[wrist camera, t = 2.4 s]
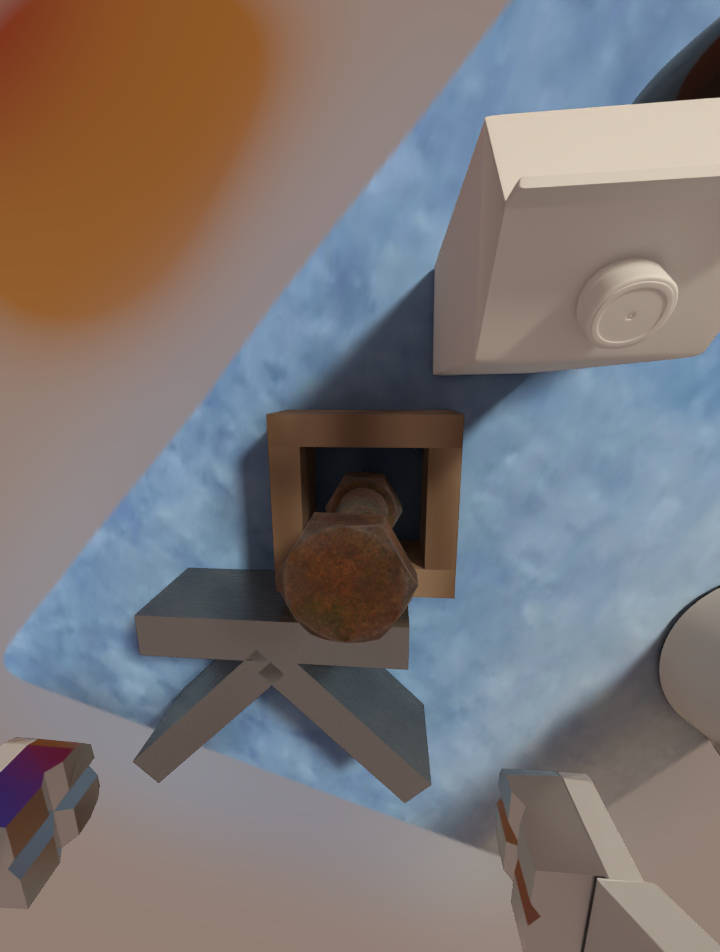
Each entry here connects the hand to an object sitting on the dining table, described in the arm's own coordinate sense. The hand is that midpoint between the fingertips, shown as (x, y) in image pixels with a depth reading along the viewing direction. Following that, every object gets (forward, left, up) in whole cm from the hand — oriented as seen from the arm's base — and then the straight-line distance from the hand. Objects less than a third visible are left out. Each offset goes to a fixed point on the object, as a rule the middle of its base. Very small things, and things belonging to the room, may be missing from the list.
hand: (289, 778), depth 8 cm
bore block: (0, 0, -23) cm, 23 cm away
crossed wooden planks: (+6, +14, -23) cm, 27 cm away
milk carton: (-8, -12, -23) cm, 27 cm away
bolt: (0, 0, -23) cm, 23 cm away
